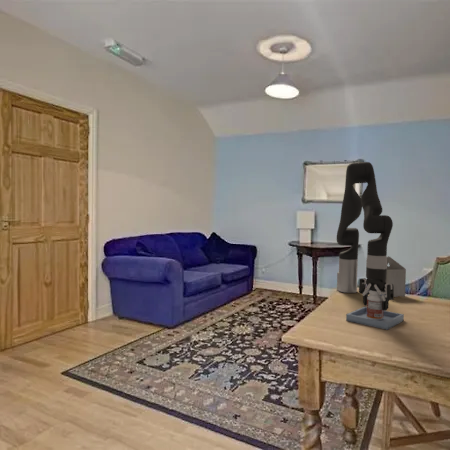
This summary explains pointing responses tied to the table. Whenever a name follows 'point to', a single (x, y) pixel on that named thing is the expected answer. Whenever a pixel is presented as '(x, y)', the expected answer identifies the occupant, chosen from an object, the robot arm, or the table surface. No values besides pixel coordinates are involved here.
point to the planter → (396, 277)
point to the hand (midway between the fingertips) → (375, 307)
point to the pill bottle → (374, 306)
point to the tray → (386, 323)
